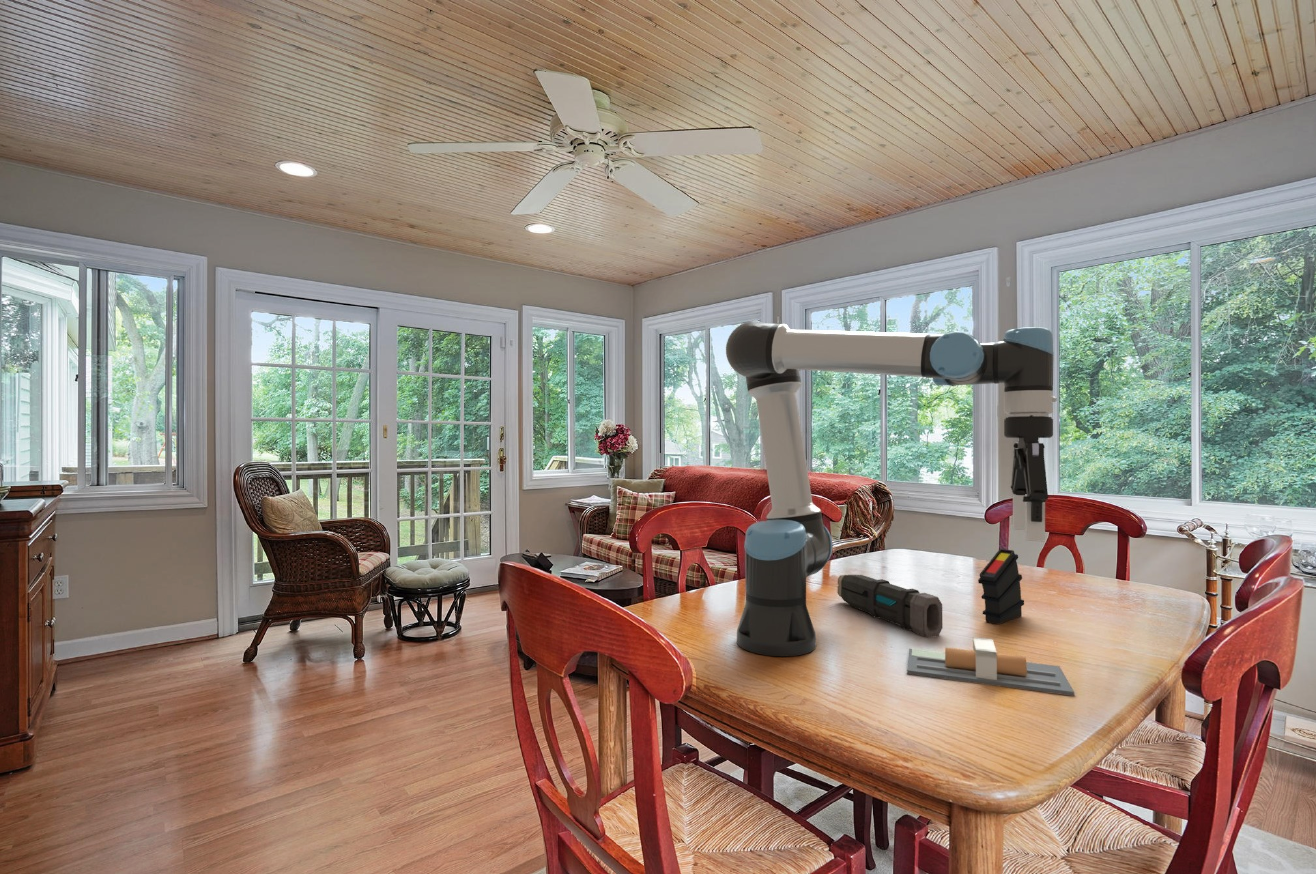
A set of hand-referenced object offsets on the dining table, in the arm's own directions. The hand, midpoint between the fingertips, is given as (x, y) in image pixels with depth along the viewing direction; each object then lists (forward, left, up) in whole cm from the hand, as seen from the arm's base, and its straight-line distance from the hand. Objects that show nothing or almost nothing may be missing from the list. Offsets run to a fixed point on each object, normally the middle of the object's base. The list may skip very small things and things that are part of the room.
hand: (1027, 535), depth 112 cm
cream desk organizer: (-8, -10, -22) cm, 25 cm away
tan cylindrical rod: (-8, -10, -22) cm, 25 cm away
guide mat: (-8, -8, -23) cm, 25 cm away
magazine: (-2, +28, -23) cm, 36 cm away
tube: (-26, +20, -23) cm, 40 cm away
